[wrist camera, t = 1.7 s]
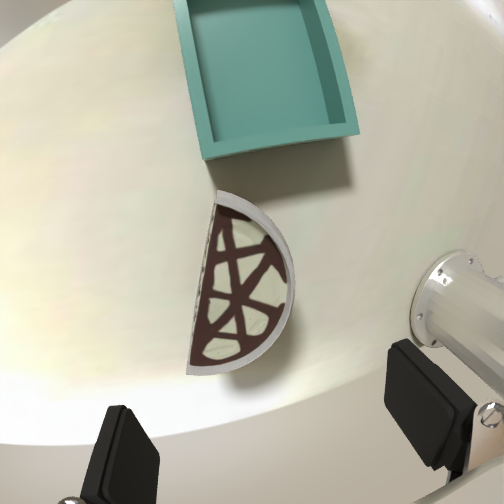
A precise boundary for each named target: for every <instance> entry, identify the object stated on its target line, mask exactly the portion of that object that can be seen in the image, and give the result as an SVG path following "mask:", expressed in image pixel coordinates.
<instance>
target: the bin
mask: <svg viewBox="0 0 504 504" xmlns="http://www.w3.org/2000/svg"><path fill="white" fill-rule="evenodd" d="M173 2H174V9H175V15H176V21H177V27H178V33H179V39H180V44H181V50H182V56H183V61H184V67H185V72H186V78H187V83H188V88H189V94H190V99H191V104H192V109H193V115H194V120H195V125H196V130H197V135H198V140H199V145H200V150H201V154H202V159H203V160H204V161H208V160H213V159H218V158H222V157H227V156H232V155H237V154H242V153H247V152H253V151H258V150H264V149H270V148H276V147H282V146H288V145H295V144H301V143H308V142H316V141H323V140H331V139H339V138H344V137H349V136H354V135H358V134H360V131H359V126H358V121H357V116H356V111H355V106H354V102H353V97H352V93H351V88H350V84H349V80H348V76H347V72H346V68H345V64H344V61H343V57H342V53H341V50H340V46H339V43H338V39H337V36H336V33H335V30H334V26H333V23H332V20H331V17H330V14H329V11H328V8H327V5H326V2H325V0H173Z"/></svg>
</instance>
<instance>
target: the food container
mask: <svg viewBox="0 0 504 504" xmlns="http://www.w3.org/2000/svg"><path fill="white" fill-rule="evenodd" d="M294 297H295V275H294V268H293V261H292V257H291V254H290V251H289V248H288V245H287V243H286V241H285V239H284V237H283V235H282V234H281V232H280V231H279V229H278V228H277V227H276V225H275V224H274V223H273V221H272V220H271V219H270V218H269V217H268V216H267V215H266V214H265V213H264V212H262V211H261V210H260V209H259V208H257V207H256V206H255V205H253V204H252V203H250V202H249V201H247V200H245V199H243V198H241V197H238V196H236V195H234V194H232V193H228V192H225V191H221V190H218V191H217V197H216V200H215V201H214V204H213V209H212V214H211V219H210V224H209V229H208V234H207V240H206V245H205V250H204V256H203V261H202V267H201V273H200V278H199V284H198V290H197V296H196V302H195V309H194V316H193V323H192V331H191V338H190V346H189V354H188V361H187V370H186V375H197V376H203V375H216V374H221V373H226V372H229V371H233V370H236V369H238V368H241V367H243V366H245V365H247V364H249V363H251V362H252V361H254V360H255V359H257V358H258V357H260V356H261V355H262V354H263V353H264V352H265V351H266V350H268V349H269V348H270V347H271V346H272V344H273V343H274V342H275V341H276V339H277V338H278V337H279V335H280V333H281V332H282V330H283V328H284V327H285V325H286V323H287V321H288V318H289V316H290V313H291V310H292V306H293V302H294Z"/></svg>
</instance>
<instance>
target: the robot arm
mask: <svg viewBox="0 0 504 504" xmlns="http://www.w3.org/2000/svg"><path fill="white" fill-rule="evenodd" d="M411 327H412V330H413V333H414V335H415V336H416V338H417V339H418V340H419V341H420V342H421V343H422V344H424V345H425V346H428V347H431V348H437V347H442V346H445V347H446V348H447V349H449V350H450V351H451V352H452V353H453V354H454V355H456V356H457V357H458V358H459V359H460V360H461V361H462V362H463V363H464V364H466V365H467V366H468V367H469V368H470V369H471V370H472V371H473V372H474V373H476V374H477V375H478V376H479V377H480V378H481V379H482V380H483V381H484V382H485V383H486V384H488V385H489V386H490V387H491V388H492V389H493V390H494V391H495V392H496V393H497V394H498V395H499V396H500V397H501V398H502V399H504V277H503V276H499V277H497V278H495V279H494V278H492V277H490V276H488V275H486V274H484V270H483V267H482V264H481V263H480V261H479V259H478V258H476V257H475V256H474V255H472V254H470V253H468V252H465V251H454V252H451V253H448V254H447V255H445V256H443V257H442V258H440V259H439V260H438V261H437V262H436V263H435V264H434V265H433V266H432V267H431V268H430V269H429V270H428V272H427V273H426V275H425V276H424V278H423V279H422V281H421V283H420V285H419V287H418V289H417V291H416V294H415V297H414V300H413V304H412V308H411ZM384 402H385V406H386V408H387V409H388V411H389V412H390V413H391V415H392V417H393V418H394V419H395V421H396V422H397V424H398V425H399V427H400V428H401V430H402V431H403V433H404V434H405V435H406V437H407V439H408V440H409V441H410V443H411V444H412V446H413V447H414V449H415V450H416V452H417V453H418V455H419V456H420V458H421V459H422V460H423V462H424V464H425V465H426V466H427V467H429V466H431V467H432V469H433V470H434V471H435V470H437V469H439V468H441V467H442V466H445V467H446V468H447V470H448V476H447V481H446V485H445V486H443V487H441V488H440V489H438V490H436V491H434V492H432V493H430V494H428V495H427V496H425V497H423V498H421V499H419V500H417V501H415V502H413V503H411V504H504V402H503V401H500V400H497V399H489V400H485V401H483V402H481V403H480V404H479V405H477V404H476V403H475V402H474V401H473V400H472V399H471V398H470V397H469V396H468V395H467V394H466V393H465V392H464V391H463V390H462V389H461V388H460V387H459V386H458V385H457V384H456V383H455V382H454V381H453V380H452V379H451V378H450V377H449V376H448V375H447V374H446V373H445V372H444V371H443V370H442V369H441V368H440V367H439V366H438V365H436V364H434V363H433V362H432V361H431V360H430V359H428V357H427V356H426V355H424V353H422V352H421V351H420V350H419V349H418V348H417V347H416V346H415V345H414V344H413V343H412V342H411V341H410V340H409V339H403V340H400V341H398V342H395V343H393V344H392V346H391V348H390V349H389V350H388V358H387V372H386V384H385V395H384ZM159 465H160V456H159V453H158V451H157V449H156V448H155V446H154V445H153V444H152V442H151V440H150V439H149V437H148V436H147V434H146V433H145V431H144V430H143V428H142V426H141V425H140V423H139V422H138V420H137V418H136V417H135V415H134V413H133V412H132V410H131V409H130V408H128V409H127V407H126V406H125V405H117V406H109V407H108V409H107V412H106V415H105V418H104V421H103V424H102V427H101V430H100V433H99V436H98V439H97V442H96V443H95V446H94V449H93V452H92V455H91V459H90V462H89V465H88V469H87V472H86V476H85V479H84V483H83V487H82V490H81V494H80V498H78V497H67V498H64V499H62V500H61V501H59V503H58V504H156V497H157V485H158V474H159Z"/></svg>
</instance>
